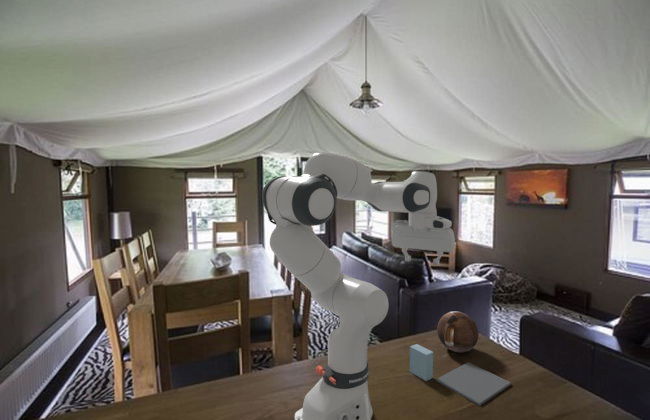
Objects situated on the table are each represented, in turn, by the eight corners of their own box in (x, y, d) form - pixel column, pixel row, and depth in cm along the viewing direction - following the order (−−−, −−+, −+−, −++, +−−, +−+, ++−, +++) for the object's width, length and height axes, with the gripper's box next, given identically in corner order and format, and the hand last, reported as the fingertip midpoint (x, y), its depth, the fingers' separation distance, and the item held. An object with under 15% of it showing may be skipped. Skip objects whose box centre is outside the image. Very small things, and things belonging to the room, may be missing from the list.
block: (426, 381, 109) (426, 355, 109) (409, 371, 115) (409, 346, 114) (432, 377, 111) (433, 351, 111) (416, 368, 117) (416, 343, 116)
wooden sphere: (457, 338, 140) (457, 303, 139) (487, 355, 126) (488, 316, 125) (428, 345, 134) (429, 309, 133) (456, 363, 120) (457, 323, 119)
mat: (479, 405, 97) (479, 403, 97) (436, 381, 109) (436, 378, 109) (510, 384, 107) (510, 382, 107) (468, 364, 119) (468, 362, 119)
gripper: (388, 220, 112) (388, 260, 113) (452, 223, 100) (451, 268, 101) (395, 218, 117) (395, 257, 118) (456, 221, 106) (455, 264, 107)
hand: (421, 262), depth 110 cm, fingers open, 8 cm apart
